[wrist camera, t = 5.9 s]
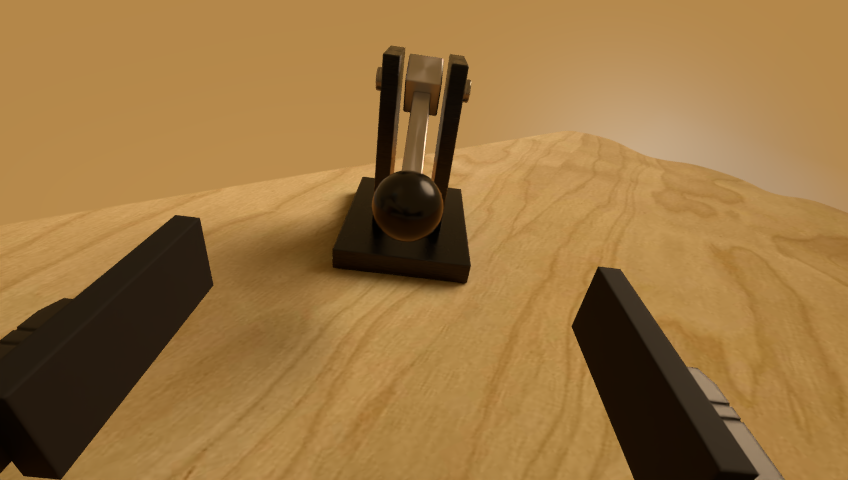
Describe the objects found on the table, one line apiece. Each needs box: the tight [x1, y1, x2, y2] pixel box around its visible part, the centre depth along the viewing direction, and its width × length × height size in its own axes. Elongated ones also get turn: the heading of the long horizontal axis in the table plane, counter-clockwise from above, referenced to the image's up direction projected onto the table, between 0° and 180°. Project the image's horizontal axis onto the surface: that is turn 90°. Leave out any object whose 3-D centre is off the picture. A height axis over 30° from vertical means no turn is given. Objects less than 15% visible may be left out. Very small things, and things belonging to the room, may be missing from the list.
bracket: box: [333, 46, 471, 283], centre depth 28 cm, size 12×9×13 cm
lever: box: [372, 54, 444, 242], centre depth 22 cm, size 13×4×4 cm, turn 178°
